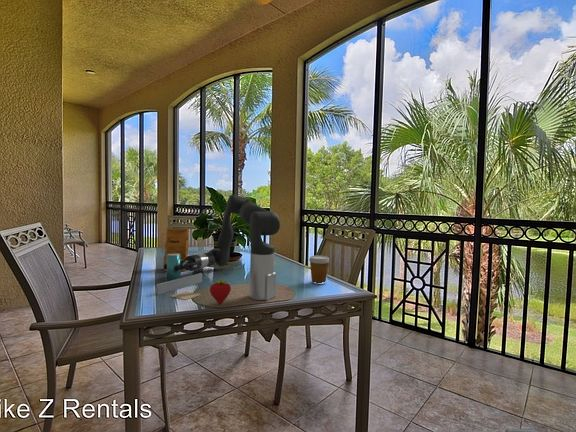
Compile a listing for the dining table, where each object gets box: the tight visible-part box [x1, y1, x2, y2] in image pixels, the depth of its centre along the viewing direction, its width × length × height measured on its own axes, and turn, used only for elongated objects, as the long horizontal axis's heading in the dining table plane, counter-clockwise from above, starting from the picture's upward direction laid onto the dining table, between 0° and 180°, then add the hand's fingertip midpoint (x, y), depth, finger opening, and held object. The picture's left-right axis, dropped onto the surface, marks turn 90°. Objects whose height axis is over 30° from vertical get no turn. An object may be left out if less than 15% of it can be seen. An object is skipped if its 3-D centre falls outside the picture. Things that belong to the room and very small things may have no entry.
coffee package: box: [163, 227, 189, 272], centre depth 170 cm, size 10×12×22 cm
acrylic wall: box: [155, 272, 203, 296], centre depth 137 cm, size 1×24×4 cm, turn 152°
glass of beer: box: [308, 255, 330, 283], centre depth 151 cm, size 10×10×12 cm
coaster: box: [169, 290, 202, 301], centre depth 126 cm, size 8×8×1 cm
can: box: [166, 253, 182, 282], centre depth 147 cm, size 6×6×12 cm
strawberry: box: [209, 276, 232, 305], centre depth 117 cm, size 6×8×10 cm
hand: (169, 267), depth 145 cm, fingers closed on can, 6 cm apart
